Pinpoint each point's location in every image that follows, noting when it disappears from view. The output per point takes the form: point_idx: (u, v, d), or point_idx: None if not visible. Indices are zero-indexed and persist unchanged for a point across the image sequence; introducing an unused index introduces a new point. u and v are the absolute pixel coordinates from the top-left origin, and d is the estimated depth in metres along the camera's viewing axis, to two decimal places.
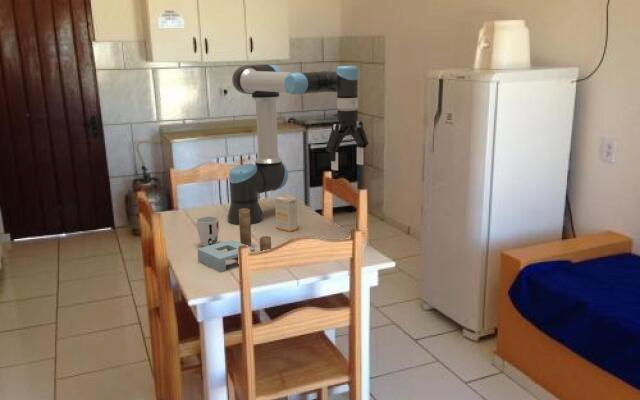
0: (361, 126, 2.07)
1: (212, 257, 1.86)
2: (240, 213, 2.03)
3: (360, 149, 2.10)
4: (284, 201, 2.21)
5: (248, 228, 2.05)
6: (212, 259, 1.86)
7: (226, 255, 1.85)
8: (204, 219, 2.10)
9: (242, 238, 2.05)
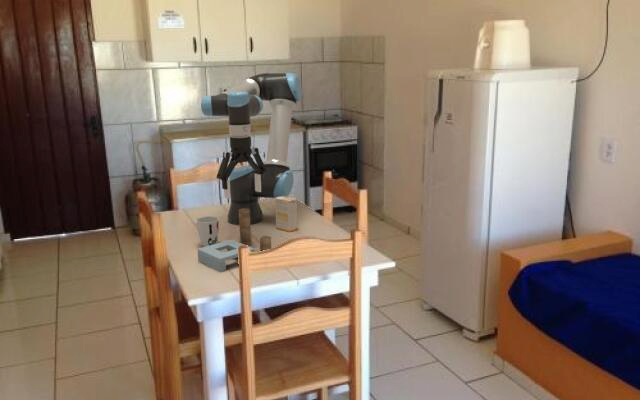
0: (257, 153, 2.02)
1: (212, 257, 1.86)
2: (240, 213, 2.03)
3: (257, 176, 2.05)
4: (284, 201, 2.21)
5: (248, 228, 2.05)
6: (212, 259, 1.86)
7: (226, 255, 1.85)
8: (204, 219, 2.10)
9: (242, 238, 2.05)
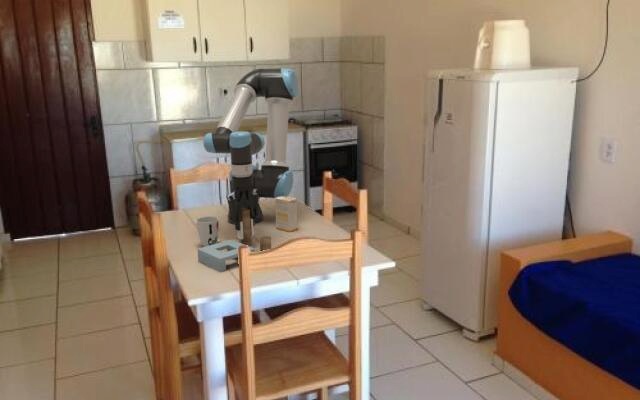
0: (257, 194, 2.06)
1: (212, 257, 1.86)
2: None
3: (250, 220, 2.06)
4: (284, 201, 2.21)
5: (248, 228, 2.05)
6: (212, 259, 1.86)
7: (226, 255, 1.85)
8: (204, 219, 2.10)
9: None
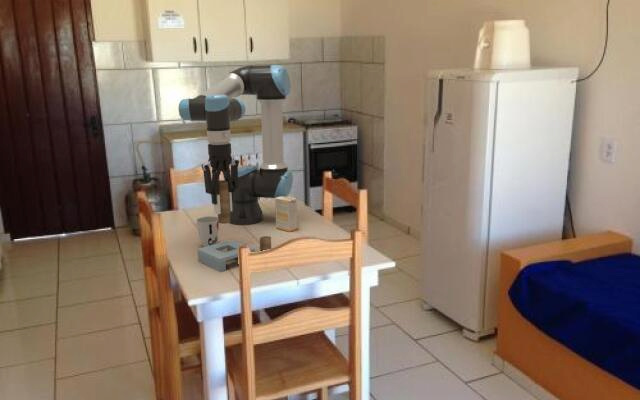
0: (236, 165, 1.87)
1: (212, 257, 1.86)
2: None
3: None
4: (284, 201, 2.21)
5: (226, 202, 1.86)
6: (212, 259, 1.86)
7: (226, 255, 1.85)
8: (204, 219, 2.10)
9: None
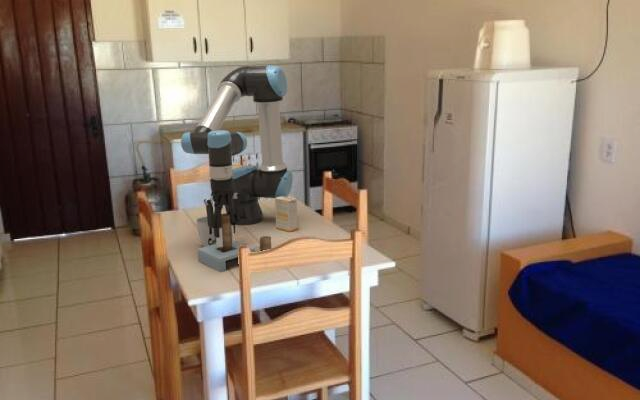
0: (238, 198, 1.90)
1: (212, 257, 1.86)
2: None
3: None
4: (284, 201, 2.21)
5: (228, 235, 1.89)
6: (212, 259, 1.86)
7: (226, 255, 1.85)
8: (204, 219, 2.10)
9: None
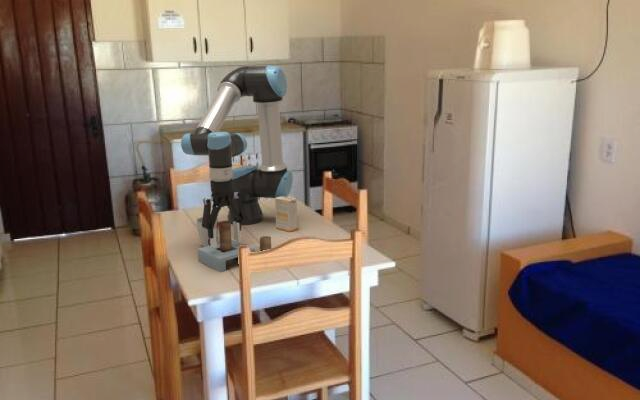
0: (239, 198, 1.90)
1: (212, 257, 1.86)
2: (220, 226, 1.88)
3: (236, 224, 1.92)
4: (284, 201, 2.21)
5: (229, 242, 1.90)
6: (212, 259, 1.86)
7: (226, 255, 1.85)
8: None
9: None
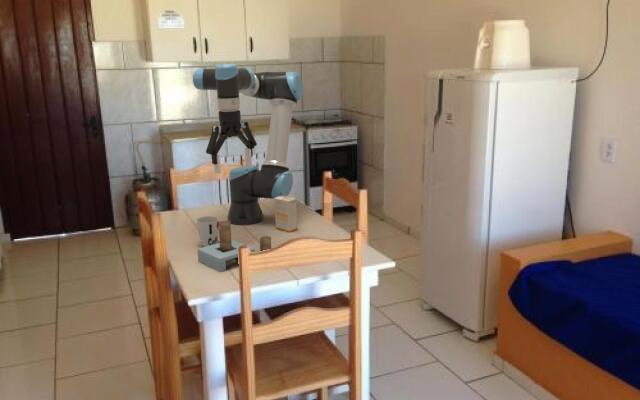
0: (247, 127, 1.99)
1: (212, 257, 1.86)
2: (220, 226, 1.88)
3: (248, 150, 2.02)
4: (283, 201, 2.21)
5: (229, 242, 1.90)
6: (212, 259, 1.86)
7: (226, 255, 1.85)
8: (204, 219, 2.10)
9: None
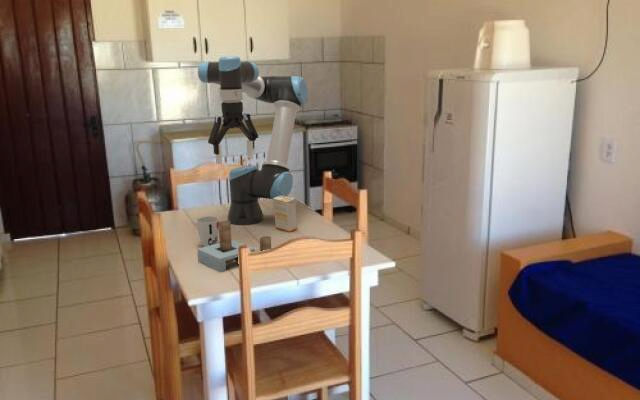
0: (249, 119, 2.02)
1: (212, 257, 1.86)
2: (220, 226, 1.88)
3: (249, 142, 2.05)
4: (282, 202, 2.20)
5: (229, 242, 1.90)
6: (212, 259, 1.86)
7: (226, 255, 1.85)
8: (204, 219, 2.10)
9: None
